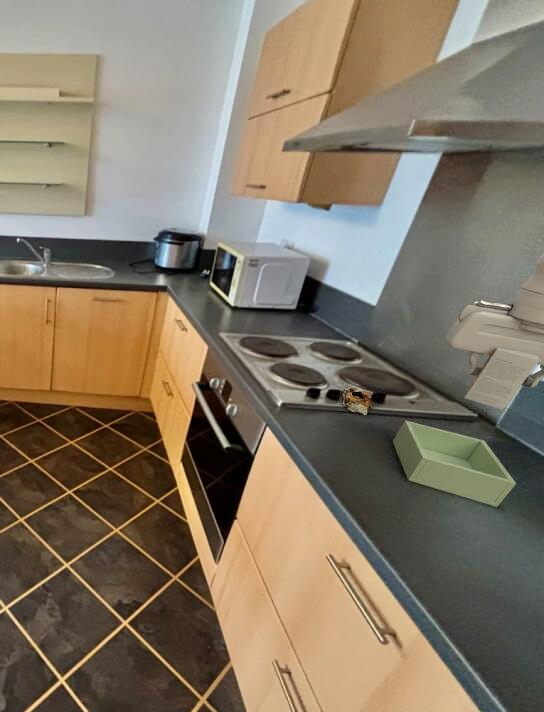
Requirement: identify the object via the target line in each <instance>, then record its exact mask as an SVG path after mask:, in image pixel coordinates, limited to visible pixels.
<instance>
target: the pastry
mask: <svg viewBox="0 0 544 712" xmlns="http://www.w3.org/2000/svg"><path fill="white" fill-rule="evenodd" d="M340 391H341V394H340V395H339V396H341V395H342V398H343V401H342V404H343V405H344V407H345V408H346V409H347V410H349V411H350V412H353V413H360V414H362V415H364V416H367V414H368V409H369V408H370V409H371V410H373V406H372V403H371V398H372V392H370V391H364V390H363V389H362V388H354V387H353V386H351V385H349V386H348V387H346V388H344V389H343V390H340ZM353 391H354V392H361V393H362V395H363V399H361V398H360V397H358V396H353V395H352V392H353ZM359 398H360V399H359Z"/></svg>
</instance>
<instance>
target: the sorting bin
mask: <svg viewBox="0 0 544 712" xmlns="http://www.w3.org/2000/svg"><path fill="white" fill-rule="evenodd" d="M392 443H393V446H394V448H395V451H396V454H397V457H398V458H399V461H400V463H401V466H402V469H403V471H404V473H405V476H406V479H407V480H408V482H409V481H410V482H413V483H416V484H420V485H423V486H427V487H429V488H433V489H436V490H440V491H443V492H446V493H449V494H453V495H456V496H460V497H463V498H467V499H470V500H473V501H475V502H479V503H483V504H486V505H488V506H489V505H490V506H492V507H496V508H497V507H499V505H501V503H502V502H503V500H504V499H505V498H506V497H507V496H508V495H509V493H510V492H511V491H512V489H514V487H515V486H516V485H517V483H516V481H515V480H514V478H513V477H512V475H510V473H509V472H508V471H507V469H506V467H505V466H504V465H503V463H502V462H501V461H500V459H499V458H498V457H497V456H496V454H495V453H494V452H493V450H492V449H491V447H490V446H489V445H488V443H487V442H486V441H485V440H484V439H479V438H475V437H472V436H468V435H463V434H460V433H457V432H452V431H448V430H444V429H440V428H437V427H432V426H428V425H425V424H420V423H417V422H414V421H409V420H404V422H403V423H402V425H401V427H400V428H399V430H398V431H397V433H396V435H395V437H394V438H393V440H392Z"/></svg>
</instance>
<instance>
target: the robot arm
mask: <svg viewBox="0 0 544 712" xmlns="http://www.w3.org/2000/svg"><path fill="white" fill-rule="evenodd" d="M444 340H445V342H446V344H447V345H448V346H449V347H450V348H452V349H456V350H459V351H460V350H461V351H466V352H467V353H466V356H467V361H468V365H467V367H466V369H465V371H464V373H465V374H466V375H470V376H475V377H476V376H478V375H479V372H481V370H482V367H483V366H481V365H479V364H478V361H477V360H478V359H479V360H480V359H482V357H483V356H484V355H487V356H490V355H492V354H493V352H494V351H495V350H496V349H497V348H501V349H507V350H512V351H518V352H523V353H528V354H532V355H536V356H539V362H538V363H537V365H540V366H539V368H540V369H539V370H538V371H535V372H534V373H533V374H531V375H530V374H529V375H528V377H527V378H526V379H525V381H524V382H523V383H522V385H521V386H523V387H526V388H531V389H534V388H536V386H537V385H538V384H539V382H540V381H543V380H544V251H543V252H542V253H541V254H540V257H539V258H538V260H537V262H536V265H535V269H534V272H532V274H531V276H530V277H529V278H528V279H527V280H526V281H525V282H524V283H523V284H522V285H521V286H520V288H519V290H518V291H517V293H516V294H515V296H514V297H513V299H512V300H511V302H510V303H505V302H504V303H502V302H493V301H488V300H485V299H483V300H482V299H480V300H478V301H472V302H469V303H467V304H465V305H464V306H463V307H462V309H461V310H460V313H459V314H458V318H457V320H456V322H455V323H454V324H453V325H452V326H451V328H450V329H449V330H448V332H447V333H446V334H445V337H444Z"/></svg>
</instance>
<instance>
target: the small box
mask: <svg viewBox="0 0 544 712" xmlns="http://www.w3.org/2000/svg"><path fill="white" fill-rule="evenodd" d="M538 362H539V356H536V355H532V354H528V353H523V352H518V351H512V350H507V349H501V348H497V349H496V350H495V351H494V352H493V354H492V355H488V357H487V359H486V360H485V362H484V364H483V365H482V366H481V367H482V370H481V372H479V375H478V376H475V377H474V378H473V380H472V382H471V384H470V385H469V387H468V390H467V391H466V393H465V395H464V399H465V400H469V401H472V402H476V403H479V404H481V405H484V406H488V407H490V408H494V409H497V410H500V411H503V410H504V409H505V408H506V407H507V405H508V404H509V402H510V401H512V398H513V397H514V396H515V394H516V393H517V392H518V391H519V389H520V388H521V386H522V383H523V382H524V381H525V379H526V378H527V377H528V375H530V374H531V373H532V371H533V370H534V369H535V368H536V366H537V365H538V364H537V363H538Z"/></svg>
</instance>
